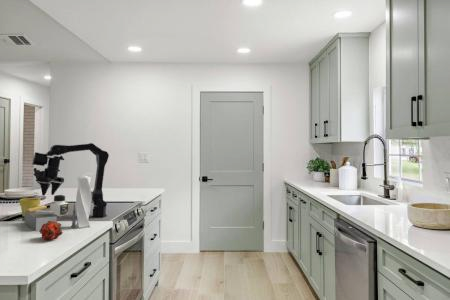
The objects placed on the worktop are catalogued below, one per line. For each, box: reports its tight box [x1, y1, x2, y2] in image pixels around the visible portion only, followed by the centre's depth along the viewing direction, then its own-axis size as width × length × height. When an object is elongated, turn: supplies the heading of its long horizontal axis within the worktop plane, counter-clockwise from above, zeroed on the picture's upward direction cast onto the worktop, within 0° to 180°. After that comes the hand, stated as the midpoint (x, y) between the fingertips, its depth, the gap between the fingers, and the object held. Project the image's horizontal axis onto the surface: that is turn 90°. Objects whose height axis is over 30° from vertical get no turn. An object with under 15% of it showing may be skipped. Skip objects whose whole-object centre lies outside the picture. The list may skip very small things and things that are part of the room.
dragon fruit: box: [39, 221, 63, 242], centre depth 145 cm, size 8×8×12 cm
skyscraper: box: [71, 172, 94, 230], centre depth 170 cm, size 8×8×28 cm
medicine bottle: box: [49, 194, 69, 217], centre depth 199 cm, size 7×7×12 cm
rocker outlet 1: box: [28, 205, 48, 212], centre depth 174 cm, size 8×4×1 cm, turn 133°
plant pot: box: [19, 197, 41, 218], centre depth 194 cm, size 10×10×10 cm
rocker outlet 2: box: [35, 209, 55, 214], centre depth 165 cm, size 8×4×1 cm, turn 133°
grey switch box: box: [24, 208, 58, 232], centre depth 170 cm, size 10×22×6 cm, turn 43°
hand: (47, 195), depth 181 cm, fingers open, 9 cm apart
